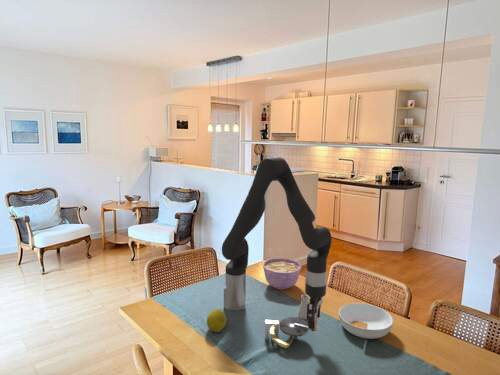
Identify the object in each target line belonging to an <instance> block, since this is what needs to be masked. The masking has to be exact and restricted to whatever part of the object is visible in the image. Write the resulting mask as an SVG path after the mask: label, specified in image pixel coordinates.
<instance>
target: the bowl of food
mask: <svg viewBox="0 0 500 375" xmlns="http://www.w3.org/2000/svg"><path fill="white" fill-rule="evenodd" d="M262 268H263V272H264V277H265V280H266V282H267V283H268V284H269V285H270V286H272V287H273V288H275V289H277V290H288V289H289V288H292V287H294V286H296V284H297V282H298V280H299V277H300V273H301V270H302V265H301V263H300V262H298V261H297V260H293V259H290V258H286V257H285V258H283V257H282V258H281V257H278V258H276V257H275V258H270V259H267V260H265V261H264V262H263V263H262Z"/></svg>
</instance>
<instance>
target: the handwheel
mask: <svg viewBox="0 0 500 375" xmlns="http://www.w3.org/2000/svg"><path fill="white" fill-rule="evenodd" d="M311 316H312V314H311ZM317 326H318V317H317V314H316V316H315V328H314V329H310V328H308V321H306V319H302V318H299V317H295V316H294V317H293V316H290V317H284V318H283V319H281V320H280V322H279V331H280V332H282V333H283V334H285V335H287V336H289V337H288V339H287V341H286V342H285V341H283V340H281V339H279V337H278V338H277V337H276V336H275V326H270V329H269V335H270V338H271V340H272V342H274V343H276V345H278V346H280V347H283V348H284V349H287V348H290V346H291V344H292V342H294V343H296V342H298V340H299V337H302V336H305V335H306V334H307V333H308V332H309V330H310V331H311V332H317V331H318V330H317V329H318V327H317Z"/></svg>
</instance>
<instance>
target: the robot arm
mask: <svg viewBox="0 0 500 375" xmlns="http://www.w3.org/2000/svg"><path fill="white" fill-rule="evenodd" d="M292 172H293V171H292V170H291V167H290V165H289V164H288V162H287V161H286V159H285V158H282V157H280V156H275V157H273V156H271V157H265V158H263V159H261V161H260V162H259V164H258V166H257V169H256V171H255V173H254V174H255V175H254V177H253V181H252V183H251V186H250V189H249V191H248V193H247V196H246V197H245V199H244V202H243V203H242V206H241V208H240V210H239V211H238V212H239V213H238V215H237V217H236V219H235V221H234V224H233V226H231V227H232V228H231V229H230V231H229V232H228V234H227V236H226V237H225V239H224V241H223V243H222V245H221V253H222V256H223V258H224V259H225V260H229V262H227V264H226V265H225V287H224V288H223V308H224V309H225V310H228V311H244V310H245V309H246V306H247V305H246V301H247V300H246V299H247V298H246V297H247V296H246V295H247V292H246V291H247V289H246V287H247V286H246V285H247V283H246V281H247V280H246V279H247V278H246V277H247V267H248V265H249V243H248V241H247V239H246V237H247V236H248V234H249V233H251V231H252V230H253V229H254V228H255V227H256V226H257V225H258V224H259V223H260V220H261V219H262V218H263V217H262V216H263V215H264V213H265V210H266V193H267V191H268V188H269V186H270V184H271V183H272V182H274V181H275V182H278V183H279V184H280V186H282V188H283V190H284V193H285V196H286V203H287V207H288V210H289V213H290V214H291V216H292V217H293V219H294V221H295V222H296V224H297V226H298V230H299V234H300V236H301V239H302V241H303V243H304V245H305V247H307V248H308V249H309V250H311V252H310V253H309V254H308V255H307V256H306V271H305V280H304V281H305V283H304V284H305V286H304V292H305V295H308V296H309V297H310V298H308V304H307V317H306V318H307V319H306V320H308V321H307V323H308V328H310V329H314V328H315V316H316V314H317V319H318V318H320V317H321V309H322V304H323V297H325V296H326V295H327V281H328V280H327V278H328V277H327V275H328V274H327V262H328V261H327V259H328V257H329V253H330V249H331V246H332V239H333V238H332V233H331V232H330V230H329V229H328V228H327V227H326V226H317V227H314V221H315V220H316V215H315V214H314V212H313V211H312V209H311V207H310V206H309V204H308V202H307V201H306V199H305V198H304V196H303V194H302V192H301V190H300V188H299V186H298V184H297V181H296V180H295V177H294V174H293V173H292ZM310 314H312V316H310Z"/></svg>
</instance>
